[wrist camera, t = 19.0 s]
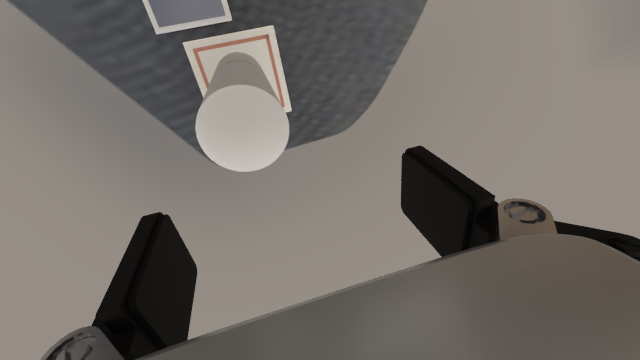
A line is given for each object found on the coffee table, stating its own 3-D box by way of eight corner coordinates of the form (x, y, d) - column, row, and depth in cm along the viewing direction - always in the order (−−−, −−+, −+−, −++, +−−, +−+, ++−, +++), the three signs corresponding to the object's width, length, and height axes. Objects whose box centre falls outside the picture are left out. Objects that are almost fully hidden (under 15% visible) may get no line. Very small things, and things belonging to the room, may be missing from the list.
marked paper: (182, 42, 39) (182, 42, 39) (273, 25, 41) (273, 25, 41) (215, 128, 46) (215, 129, 46) (291, 110, 48) (291, 111, 48)
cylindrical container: (233, 108, 45) (231, 185, 24) (205, 66, 41) (173, 114, 20) (272, 87, 45) (303, 146, 24) (248, 42, 41) (260, 66, 20)
